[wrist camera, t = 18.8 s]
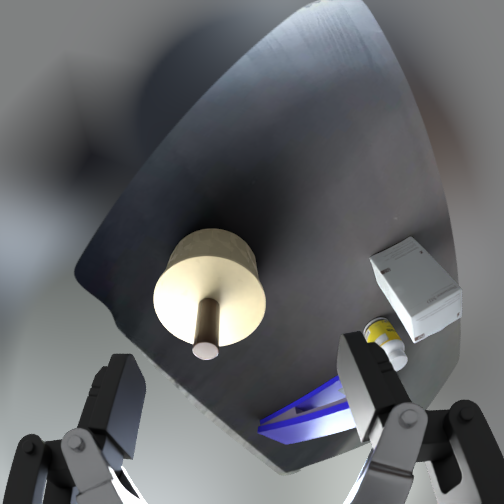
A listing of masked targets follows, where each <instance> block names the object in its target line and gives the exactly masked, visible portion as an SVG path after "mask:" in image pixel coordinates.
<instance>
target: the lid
mask: <svg viewBox="0 0 504 504" xmlns="http://www.w3.org/2000/svg"><path fill="white" fill-rule="evenodd" d="M154 306H155V310H156V313H157V315H158V317H159V319H160V321H161V322H162V324H163V325H164V326H165V327H166V328H167V329H168V330H169V331H170V332H171V333H172V334H174V335H175V336H176V337H178V338H180V339H182V340H184V341H186V342H189V343H192V344H193V353H194V354H195V356H197V357H198V358H200V359H204V360H210V359H213V358H215V357H216V356H217V355H218V353H219V346H224V345H229V344H232V343H235V342H238V341H240V340H242V339H244V338H245V337H247V336H248V335H250V334H251V333H252V332H253V331H254V330H255V329H256V328H257V326H258V325H259V324H260V322H261V320H262V318H263V316H264V312H265V307H266V299H265V293H264V289H263V287H262V285H261V283H260V281H259V279H258V278H257V277H256V275H255V274H254V273H253V272H252V271H251V270H250V269H249V268H247V267H246V266H245V265H243V264H242V263H240V262H238V261H236V260H234V259H231V258H228V257H225V256H221V255H214V254H200V255H194V256H189V257H186V258H183V259H181V260H179V261H177V262H175V263H174V264H172V265H171V266H170V267H168V268H167V269H166V270H165V271H164V272H163V274H162V275H161V276H160V278H159V280H158V282H157V285H156V287H155V291H154Z"/></svg>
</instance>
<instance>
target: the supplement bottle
mask: <svg viewBox="0 0 504 504" xmlns="http://www.w3.org/2000/svg"><path fill="white" fill-rule="evenodd" d="M364 336H365V339H366V341H367V342H368V343H369V342H376V343H377V344H378V345H379V346H380V347H382V348H383V349H384V350H385V352H386V354H387V356H388V358H389V361H390V362H391V363H392V365H393V367H394V370H395V371H398V370H400V369H402V368H403V367H404V366H405V365H406V363H407V360H408V359H407V356H406V355H405V353H404V344H403V342H402V340H401V339H400V337H399V336H398V334H397V333H396V331H395V329H394V328H393V326H392V325H391V323H390V322H389V321H388V319H386V318H383V317H379V318H376V319H374V320H372V321H371V322H369V323H368V324H367V326H366V327H365V329H364Z"/></svg>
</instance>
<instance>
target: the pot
mask: <svg viewBox="0 0 504 504" xmlns="http://www.w3.org/2000/svg"><path fill="white" fill-rule="evenodd" d="M200 254H214V255H221V256H225V257H228V258H231V259H234V260H236V261H238V262H240V263H242V264H243V265H245V266H246V267H247V268H249V269H250V270H251V271H252V272H253V273H254V274H255V275H256V277H257V278H258V279H259V277H258V271H257V265H256V259H255V255H254V254H253V252H252V250H251V248H250V247H249V246H248V244H247V243H246V242H245V241H244V240H243V239H241V238H240V237H239V236H237V235H235V234H234V233H231V232H229V231H226V230H222V229H202V230H198V231H196V232H193V233H191V234H189V235H187V236H186V237H185V238H183V239H182V240H181V241H180V242H179V243H178V245H177V246H176V247H175V249H174V251H173V253H172V254H171V256H170V259H169V262H168V265H167V268H168V267H170V266H171V265H172V264H174V263H175V262H177V261H179V260H181V259H183V258H186V257H189V256H194V255H200ZM167 268H166V269H167Z"/></svg>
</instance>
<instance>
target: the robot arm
mask: <svg viewBox="0 0 504 504" xmlns="http://www.w3.org/2000/svg"><path fill="white" fill-rule="evenodd" d="M337 372H338V376H339V379H340V381H341V384H342V387H343V390H344V393H345V396H346V399H347V401H348V404H349V407H350V410H351V413H352V416H353V419H354V422H355V425H356V428H357V431H358V434H359V437H360V440H361V442H365V441H369V440H370V441H371V444H372V449H371V452H370V454H369V456H368V458H367V460H366V463H365V465H364V467H363V469H362V471H361V473H360V475H359V477H358V479H357V481H356V483H355V485H354V487H353V489H352V491H351V492H350V494H349V496H348V497H347V499H346V501H345V502H344V504H405V501H406V499H407V496H408V494H409V491H410V489H411V486H412V483H413V479H414V476H413V475H412V472H413V469H414V465H415V463H416V462H425V464H426V467H427V470H428V473H429V477H430V480H431V483H432V486H433V489H434V493H435V496H436V499H437V503H438V504H504V458H503V456H502V453H501V451H500V449H499V446H498V444H497V442H496V440H495V438H494V436H493V434H492V431H491V429H490V427H489V425H488V423H487V421H486V419H485V417H484V415H483V413H482V411H481V410H480V408H479V406H478V405H477V404H476V403H474V402H472V401H470V400H460V401H458V402H455V403H454V404H453V405H452V406H451V408H450V409H449V410H433V411H428V410H424V409H423V408H422V407H421V406H419V405H418V404H415V403H412V401H411V400H410V398H409V396H408V394H407V392H406V390H405V389H404V387H403V385H402V383H401V381H400V379H399V377H398V375H397V373H396V371H395V370H394V367H393V365H392V363H391V362H390V361H389V358H388V356H387V354H386V352H385V350H384V349H383V348H382V347H380V346H379V345H378V344H377V343H376V342H369V343H367V342H366V340H365V338H364V336H363V334H362V333H361V331H356V332H351V333H346V334H341V335H340V340H339V348H338V355H337ZM145 394H146V383H145V379H144V377H143V375H142V373H141V371H140V369H139V367H138V365H137V363H136V360H135V358H134V356H133V355H132V354H113V355H112V357H111V359H110V362H109V364H108V367H107V366H103V367H102V368H101V370H100V371H99V372H98V373H97V374H96V375H95V378H94V380H93V383H92V388H91V389H90V391H89V396H88V397H87V400H86V403H85V406H84V409H83V412H82V415H81V418H80V421H79V424H78V426H77V428H75V429H72V430H70V431H68V432H67V433H66V434H65V435H64V437H63V439H61V440H54V441H46V442H44V441H43V440H42V439H41V438H40V437H39V436H37V435H35V434H29V435H26V436H24V437H23V438H22V439H21V440H20V442H19V443H18V446H17V449H16V453H15V456H14V460H13V463H12V467H11V470H10V474H9V478H8V482H7V486H6V490H5V495H4V499H3V504H147V503H146V502H145V500H144V499H143V498H142V496H141V495H140V493H139V492H138V490H137V488H136V487H135V485H134V484H133V482H132V481H131V479H130V478H129V476H128V474H127V473H126V471H125V469H124V468H123V466H122V462H123V459H133V456H134V450H135V444H136V439H137V433H138V428H139V423H140V418H141V413H142V408H143V403H144V398H145ZM46 480H47V484H46V489H45V495H44V500H43V503H42V498H43V492H44V487H45V482H46Z"/></svg>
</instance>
